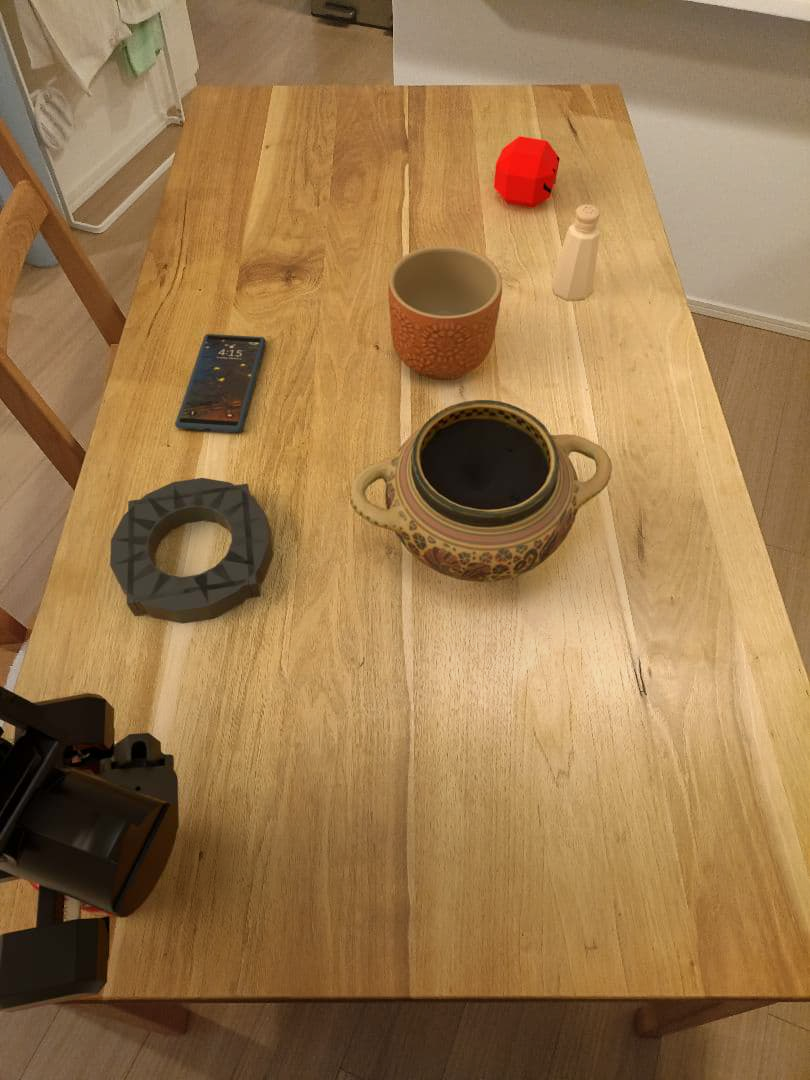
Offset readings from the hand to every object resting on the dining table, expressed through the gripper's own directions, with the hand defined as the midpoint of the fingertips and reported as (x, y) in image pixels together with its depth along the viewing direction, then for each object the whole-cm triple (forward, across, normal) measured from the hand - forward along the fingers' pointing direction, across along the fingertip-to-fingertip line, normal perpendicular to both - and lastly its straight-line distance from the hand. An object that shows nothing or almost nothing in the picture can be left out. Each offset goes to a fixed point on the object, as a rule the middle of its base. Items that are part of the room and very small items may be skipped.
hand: (102, 863), depth 57 cm
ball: (+5, +81, -55) cm, 98 cm away
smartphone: (+4, +52, -11) cm, 53 cm away
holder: (+4, +29, -7) cm, 30 cm away
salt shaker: (+5, +61, -56) cm, 83 cm away
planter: (+5, +52, -37) cm, 64 cm away
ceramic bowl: (+5, +26, -35) cm, 44 cm away
